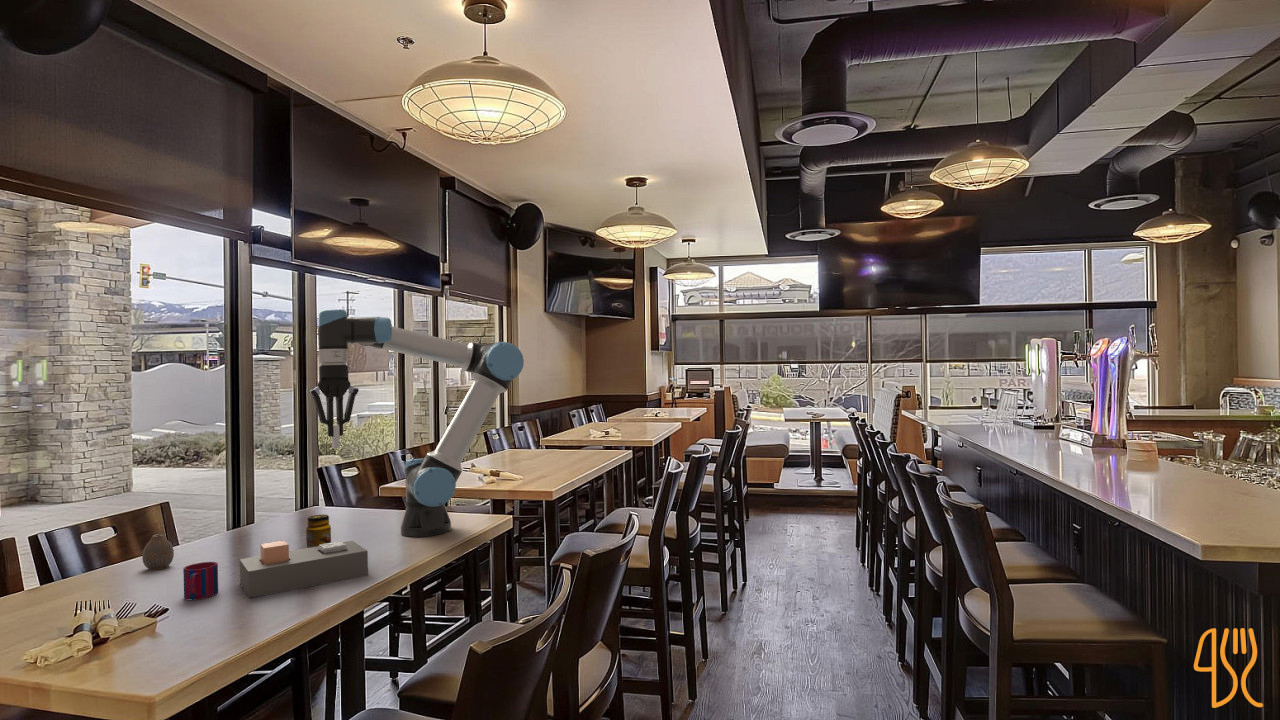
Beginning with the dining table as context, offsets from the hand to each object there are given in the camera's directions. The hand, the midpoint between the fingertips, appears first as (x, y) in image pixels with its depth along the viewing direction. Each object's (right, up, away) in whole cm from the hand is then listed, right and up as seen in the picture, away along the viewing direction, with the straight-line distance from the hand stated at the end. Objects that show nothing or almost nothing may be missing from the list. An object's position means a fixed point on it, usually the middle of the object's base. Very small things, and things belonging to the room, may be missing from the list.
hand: (335, 448), depth 196 cm
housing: (+4, -29, -26) cm, 39 cm away
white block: (+9, -27, -22) cm, 36 cm away
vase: (-43, -31, -11) cm, 54 cm away
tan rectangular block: (-2, -25, -30) cm, 39 cm away
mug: (-15, -30, -37) cm, 50 cm away
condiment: (-2, -30, -9) cm, 31 cm away
